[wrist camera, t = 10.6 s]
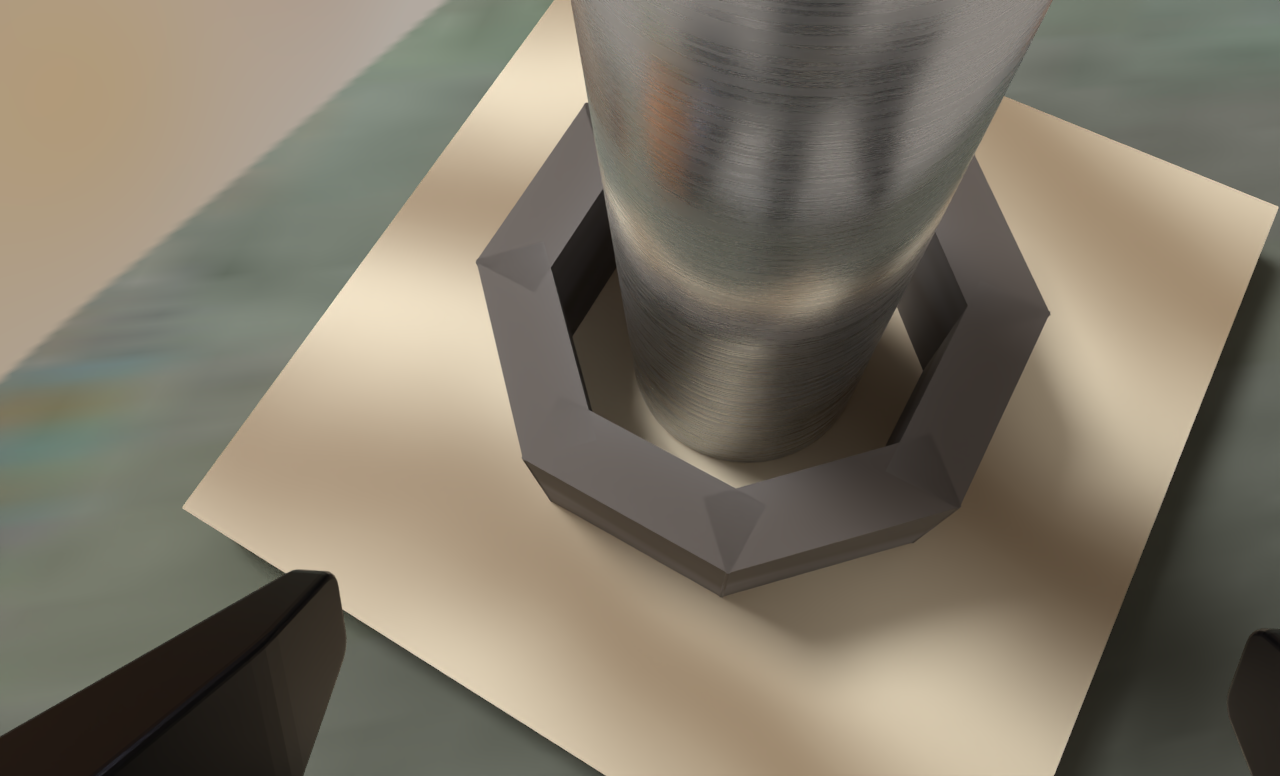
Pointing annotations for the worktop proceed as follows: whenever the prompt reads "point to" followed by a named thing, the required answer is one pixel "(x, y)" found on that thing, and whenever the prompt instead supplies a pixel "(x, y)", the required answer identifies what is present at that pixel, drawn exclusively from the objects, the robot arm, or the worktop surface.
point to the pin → (780, 189)
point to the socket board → (750, 492)
